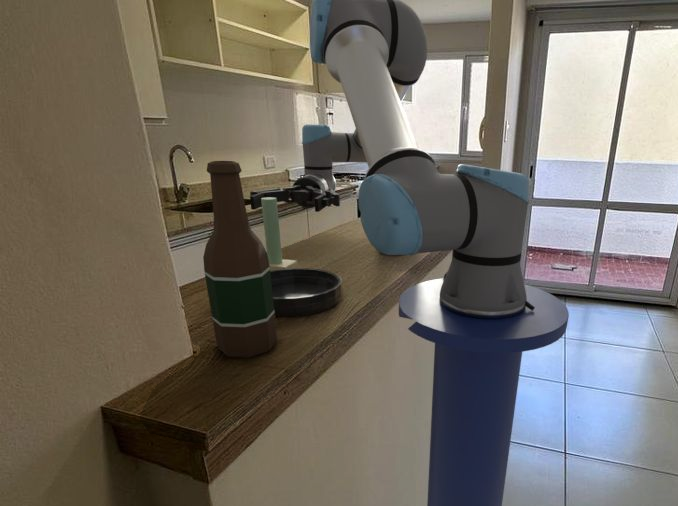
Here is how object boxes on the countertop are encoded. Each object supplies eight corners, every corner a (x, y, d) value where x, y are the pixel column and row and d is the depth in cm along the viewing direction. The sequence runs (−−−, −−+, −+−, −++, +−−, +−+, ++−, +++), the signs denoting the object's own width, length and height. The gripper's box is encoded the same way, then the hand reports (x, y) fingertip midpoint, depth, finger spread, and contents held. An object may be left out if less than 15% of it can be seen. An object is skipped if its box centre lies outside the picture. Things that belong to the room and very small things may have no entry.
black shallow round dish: (354, 288, 84) (354, 272, 82) (319, 322, 69) (318, 303, 68) (275, 280, 87) (273, 264, 85) (225, 311, 72) (222, 292, 71)
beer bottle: (289, 340, 63) (272, 161, 54) (249, 364, 57) (221, 165, 47) (247, 329, 66) (224, 158, 57) (204, 351, 59) (170, 161, 50)
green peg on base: (298, 271, 92) (292, 197, 86) (286, 279, 88) (279, 201, 82) (267, 268, 94) (259, 195, 88) (254, 275, 89) (244, 199, 83)
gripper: (359, 207, 115) (344, 224, 95) (263, 204, 115) (228, 220, 95) (358, 177, 112) (342, 187, 92) (260, 174, 112) (223, 183, 93)
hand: (284, 204), depth 94 cm, fingers open, 13 cm apart
